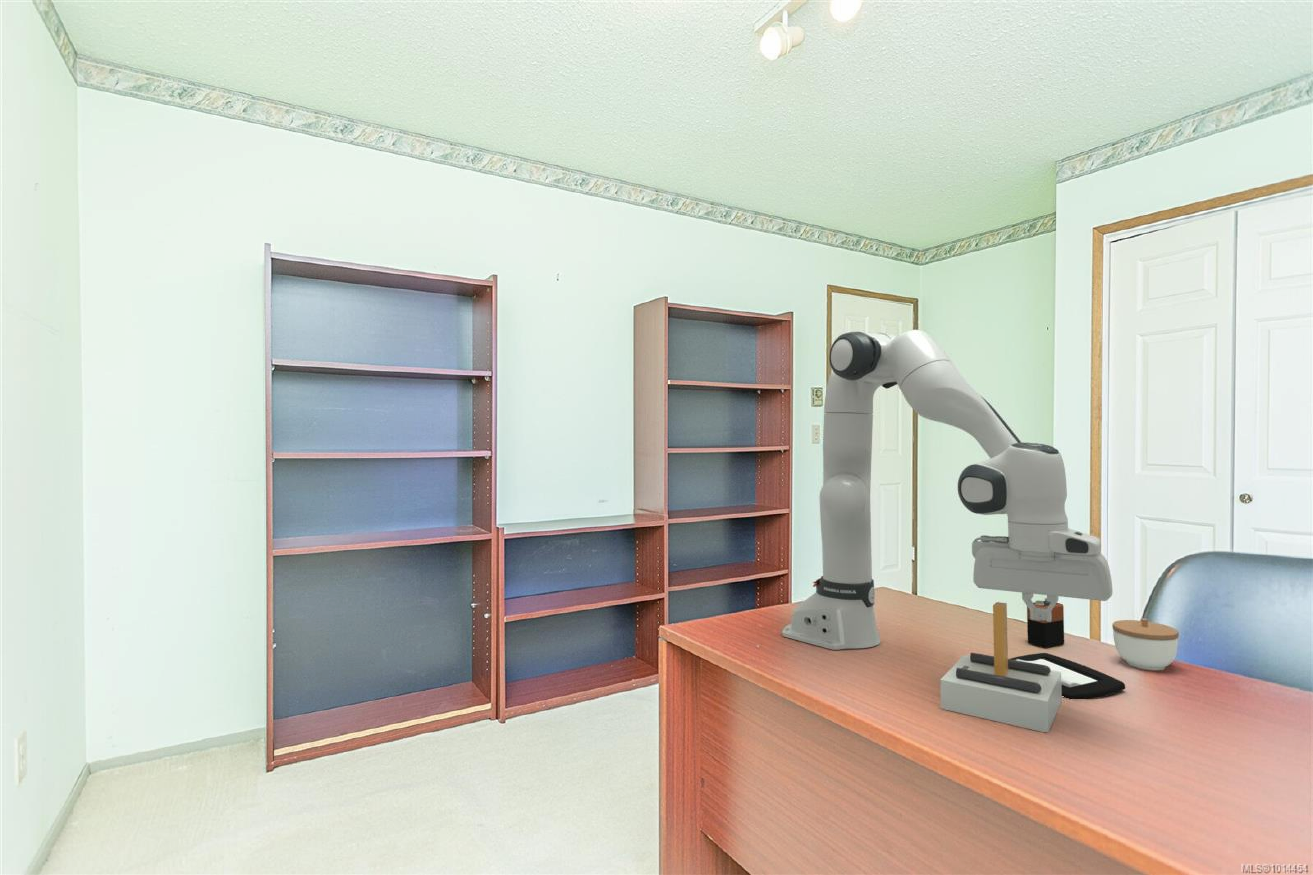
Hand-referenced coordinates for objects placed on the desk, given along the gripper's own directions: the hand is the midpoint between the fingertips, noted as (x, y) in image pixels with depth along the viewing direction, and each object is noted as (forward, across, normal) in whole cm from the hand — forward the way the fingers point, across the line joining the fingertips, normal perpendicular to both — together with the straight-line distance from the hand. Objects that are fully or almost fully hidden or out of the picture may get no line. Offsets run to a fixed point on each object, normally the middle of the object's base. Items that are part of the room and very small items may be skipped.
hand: (1041, 620), depth 110 cm
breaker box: (+16, -6, 0) cm, 17 cm away
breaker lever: (+10, -6, 0) cm, 12 cm away
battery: (+16, -5, +42) cm, 45 cm away
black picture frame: (+16, 0, +20) cm, 26 cm away
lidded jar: (+16, +13, +38) cm, 43 cm away
